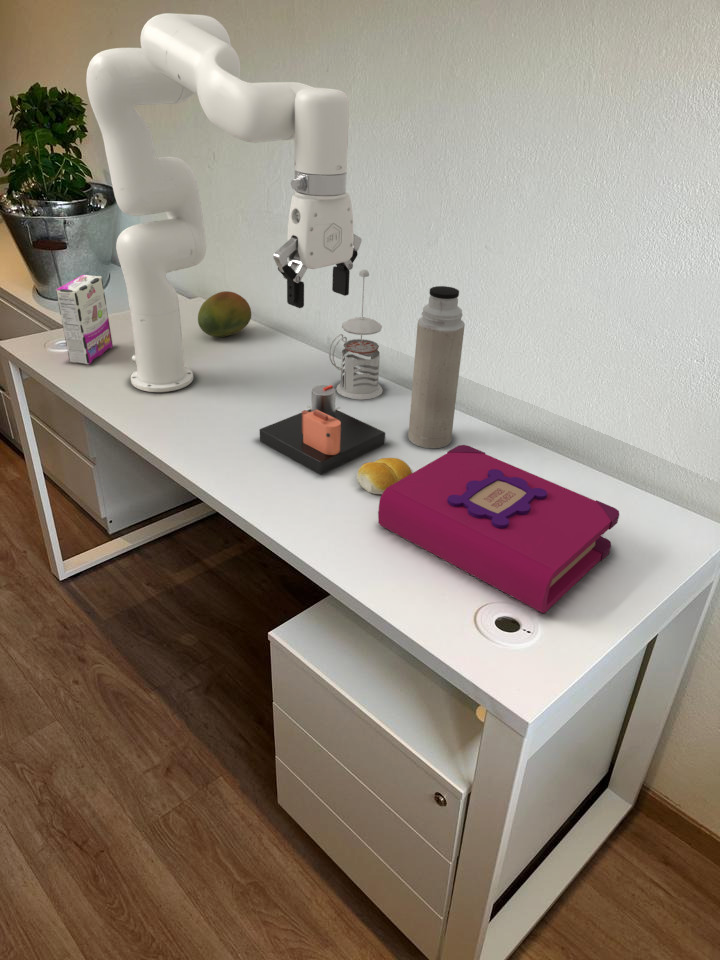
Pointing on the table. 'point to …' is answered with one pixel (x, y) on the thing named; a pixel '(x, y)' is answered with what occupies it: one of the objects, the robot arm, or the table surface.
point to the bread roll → (382, 474)
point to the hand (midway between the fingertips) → (318, 299)
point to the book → (500, 524)
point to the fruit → (224, 314)
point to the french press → (351, 381)
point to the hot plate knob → (324, 399)
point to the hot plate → (290, 443)
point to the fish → (321, 432)
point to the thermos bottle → (436, 369)
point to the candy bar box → (84, 318)
